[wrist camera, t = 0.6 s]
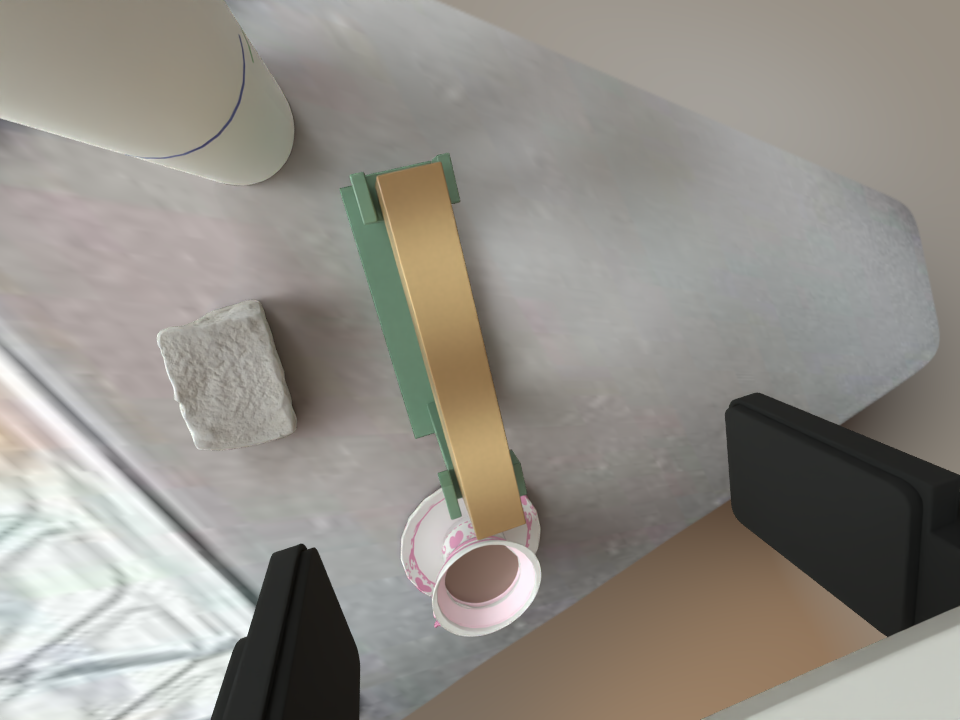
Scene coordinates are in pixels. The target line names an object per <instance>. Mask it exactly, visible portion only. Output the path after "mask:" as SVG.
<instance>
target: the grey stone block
mask: <svg viewBox="0 0 960 720" xmlns="http://www.w3.org/2000/svg"><path fill="white" fill-rule="evenodd" d="M157 343H158V346H159V347H160V349H161V355H162V356H163V357H164V364H165V367H166V371H167V374H168V377H169V379H170V381H171V383H172V385H173V388H174V399H175V400H176V401H178V402H179V403H180V410H181V414H182V416H183V418H184V420H185V422H186V424H187V427H188V428H189V430H190V432H191V435H192V437H193V441H194V444H195V445H196V447H197V448H198V449H200V450H203V449H206V450H212V451H220V450H232V449H236V448H243V447H249V446H254V445H258V444H263V443H266V442H269V441H272V440H276V439H279V438H284V437H286V436H288V435H290V434H292V433H294V432H295V431H296V428H297V426H296V423H297V418H296V414H295V412H294V410H293V408H292V399H291V395H290V392H289V390H288V388H287V385H286V382H285V379H284V374H285V372H284V370H283V367H282V364H281V361H280V358H279V356H278V353H277V351H276V347H275V344H274V339H273V336H272V333H271V330H270V327H269V324H268V322H267V320H266V316H265V313H264V309H263V307H262V305H261V302H259V301H256V300H247V301H244V302H241V303H239V304H236V305H232V306H227V307H224V308H220V309H217V310H214V311H212V312H209V313H208V314H206V315H205V316H204V317H202V318H200V319H198V320H196V321H194V322H191V323H189V324H187V325H184V326H173V327H169V328H166V329H164V330H162V331H160V332H159V334H158V336H157Z"/></svg>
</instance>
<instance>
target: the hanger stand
mask: <svg viewBox="0 0 960 720" xmlns="http://www.w3.org/2000/svg"><path fill="white" fill-rule="evenodd" d="M435 162H441V163H442V166H443V170H444V175H445V179H446V183H447V187H448V192H449V196H450V200H451V204H455V203H459V202H460V197H459V193H458V188H457V184H456V180H455V175H454V171H453V167H452V162H451V158H450V154H449V153H445V154H440V155H437V156H436V157H435V158H434V159H433V160H432V161H427V162H422V163H418V164H413V165H409V166H404V167H400V168H395V169H391V170H387V171H382V172H378V173H373V174H369V175H365V174H364V172H360V173H355V174H351V175H350V180H351V183H352V186H349V187H344V188H340V193H341V196H342V199H343V203H344V206H345V209H346V213H347V216H348V219H349V222H350V226H351V229H352V232H353V236H354V239H355V242H356V245H357V249H358V252H359V255H360V259H361V262H362V265H363V268H364V272H365V275H366V278H367V282H368V285H369V288H370V291H371V295H372V298H373V301H374V304H375V308H376V311H377V314H378V318H379V321H380V324H381V327H382V331H383V334H384V337H385V341H386V344H387V347H388V350H389V354H390V357H391V360H392V364H393V367H394V370H395V373H396V377H397V380H398V383H399V387H400V390H401V393H402V396H403V400H404V403H405V406H406V410H407V413H408V416H409V419H410V423H411V426H412V429H413V433H414V436H415V439H417V438H420V437H423V436H427V435H430V434H433V433H435V434H436V437H437V440H438V443H439V446H440V449H441V453H442V456H443V459H444V462H445V465H446V468H447V470H446V471H443V472H440V473H438V477H439V480H440V484H441V487H442V491H443V494H444V498H445V501H446V504H447V508H448V511H449V514H450V518H451V520H454V519H457V518H460V517H462V514H461V510H460V507H459V503H458V500H457V499H460V498H463V497H462V495H461V492H460V488H459V485H458V481H457V478H456V474H455V471H454V467H453V464H452V460H451V456H450V453H449V449H448V446H447V442H446V439H445V435H444V432H443V428H442V425H441V421H440V417H439V414H438V410H437V407H436V403H435V400H434V396H433V393H432V389H431V385H430V382H429V378H428V375H427V371H426V368H425V364H424V361H423V357H422V353H421V350H420V346H419V343H418V339H417V336H416V332H415V329H414V325H413V321H412V318H411V314H410V311H409V307H408V304H407V300H406V297H405V293H404V290H403V286H402V282H401V279H400V275H399V272H398V268H397V265H396V261H395V258H394V254H393V250H392V247H391V243H390V240H389V236H388V233H387V229H386V226H385V222H384V218H383V215H382V211H381V208H380V204H379V201H378V197H377V194H376V190H375V182H376V177H377V176H378V175H382V174H386V173H391V172H395V171H400V170H404V169H409V168H413V167H418V166H422V165H426V164H431V163H435ZM509 451H510V456H511V460H512V464H513V468H514V473H515V477H516V481H517V485H518V490H519V494H520V497H521V496H524V495H527V490H526V486H525V481H524V477H523V473H522V468H521V464H520V462H519V460H518V459H517V457H516V456H515V454H514V452H513V451H512V450H509Z"/></svg>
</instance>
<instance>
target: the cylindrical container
mask: <svg viewBox="0 0 960 720" xmlns="http://www.w3.org/2000/svg"><path fill="white" fill-rule="evenodd" d="M0 118H1V119H5V120H8V121H12V122H15V123H18V124H22V125H25V126H29V127H32V128H36V129H39V130H42V131H46V132H49V133H53V134H56V135H60V136H63V137H66V138H70V139H73V140H77V141H80V142H83V143H87V144H90V145H94V146H97V147H101V148H104V149H107V150H111V151H114V152H118V153H121V154H125V155H128V156H131V157H135V158H138V159H142V160H145V161H148V162H152V163H155V164H159V165H162V166H166V167H169V168H172V169H176V170H179V171H183V172H186V173H189V174H193V175H196V176H200V177H203V178H207V179H210V180H213V181H217V182H220V183H224V184H230V185H251V184H256V183H259V182H262V181H264V180H266V179H268V178H270V177H271V176H273V175H274V174H275V173H277V172H278V171H279V170H280V169H281V167H282V166H283V165H284V164H285V163H286V161H287V159H288V157H289V155H290V153H291V150H292V146H293V142H294V130H295V129H294V121H293V116H292V112H291V109H290V106H289V104H288V102H287V100H286V98H285V96H284V94H283V92H282V90H281V89H280V87H279V86H278V84H277V83H276V81H275V80H274V78H273V76H272V75H271V73H270V72H269V70H268V69H267V67H266V65H265V64H264V62H263V61H262V59H261V58H260V56H259V55H258V53H257V51H256V50H255V48H254V47H253V45H252V44H251V42H250V41H249V39H248V37H247V36H246V34H245V33H244V31H243V30H242V28H241V27H240V25H239V23H238V22H237V20H236V19H235V17H234V16H233V14H232V12H231V11H230V9H229V8H228V6H227V5H226V3H225V1H224V0H0Z"/></svg>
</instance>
